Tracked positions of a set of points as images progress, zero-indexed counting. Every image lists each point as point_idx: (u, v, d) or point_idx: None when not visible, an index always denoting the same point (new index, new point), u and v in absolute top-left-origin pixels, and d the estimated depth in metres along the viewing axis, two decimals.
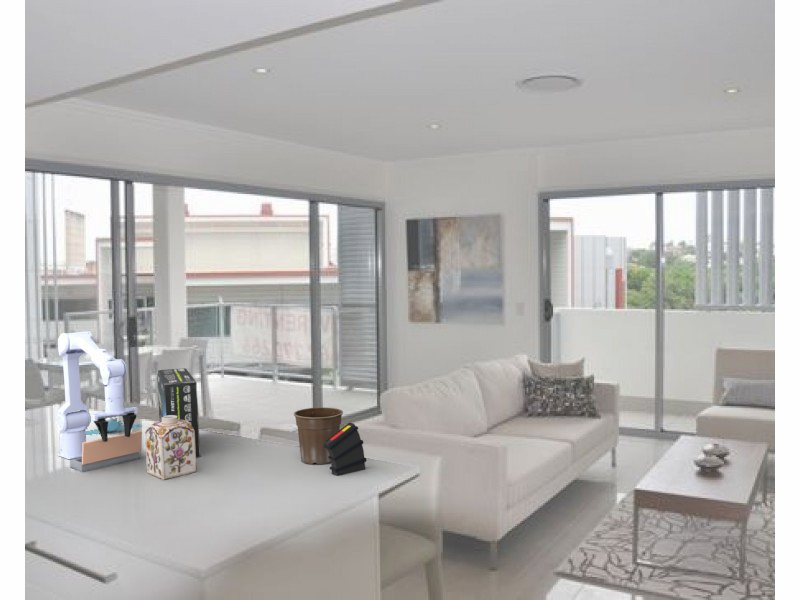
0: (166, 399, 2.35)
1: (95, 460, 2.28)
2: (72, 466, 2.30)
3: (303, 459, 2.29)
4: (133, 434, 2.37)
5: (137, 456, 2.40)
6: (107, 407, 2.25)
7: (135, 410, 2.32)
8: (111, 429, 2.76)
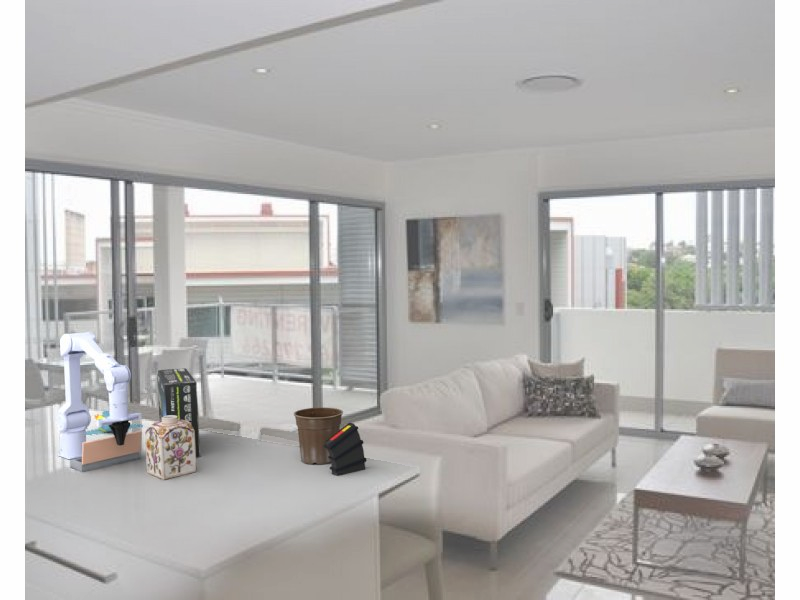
0: (166, 399, 2.35)
1: (95, 460, 2.28)
2: (72, 466, 2.30)
3: (303, 459, 2.29)
4: (133, 434, 2.37)
5: (137, 456, 2.40)
6: (111, 413, 2.26)
7: (139, 416, 2.33)
8: None
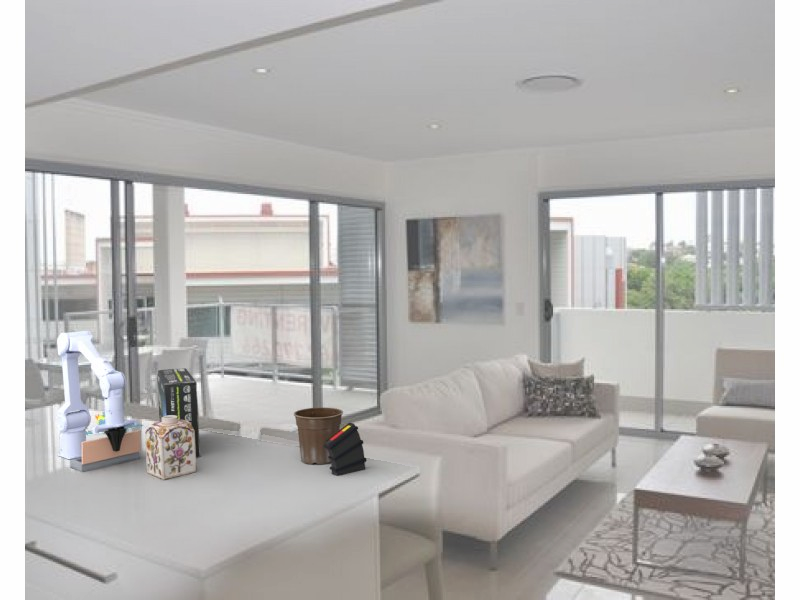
0: (166, 399, 2.35)
1: (95, 460, 2.28)
2: (72, 466, 2.30)
3: (303, 459, 2.29)
4: (132, 433, 2.37)
5: (137, 456, 2.40)
6: (107, 419, 2.28)
7: (135, 422, 2.35)
8: None
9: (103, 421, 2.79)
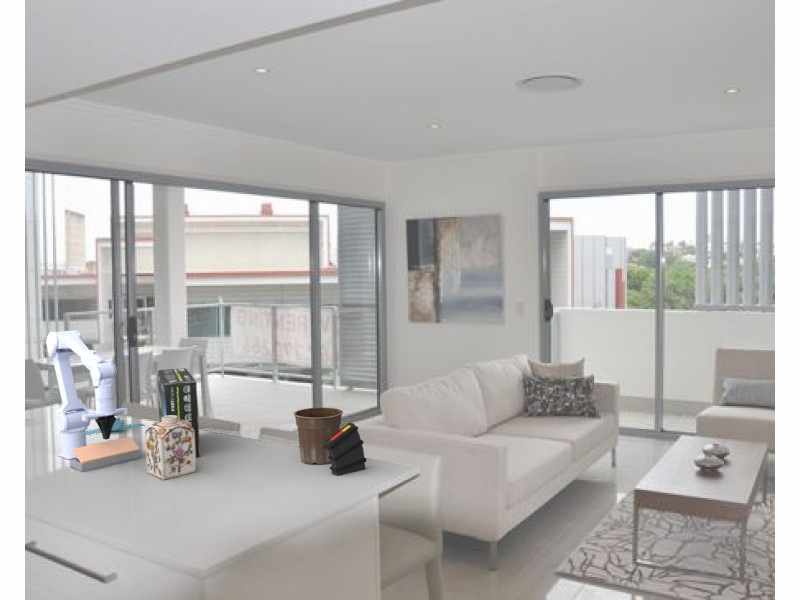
0: (166, 399, 2.35)
1: (94, 458, 2.29)
2: (72, 466, 2.30)
3: (303, 459, 2.29)
4: (122, 439, 2.42)
5: (137, 456, 2.40)
6: (97, 408, 2.32)
7: (125, 411, 2.38)
8: (114, 428, 2.77)
9: None
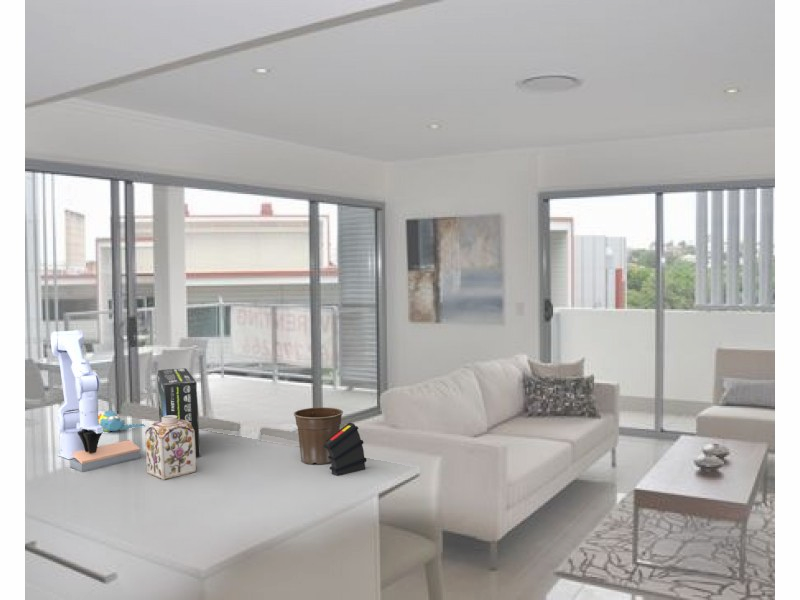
0: (166, 399, 2.35)
1: (93, 458, 2.29)
2: (72, 466, 2.30)
3: (303, 459, 2.29)
4: (121, 442, 2.42)
5: (137, 456, 2.40)
6: None
7: (95, 430, 2.27)
8: (114, 428, 2.77)
9: (105, 420, 2.79)
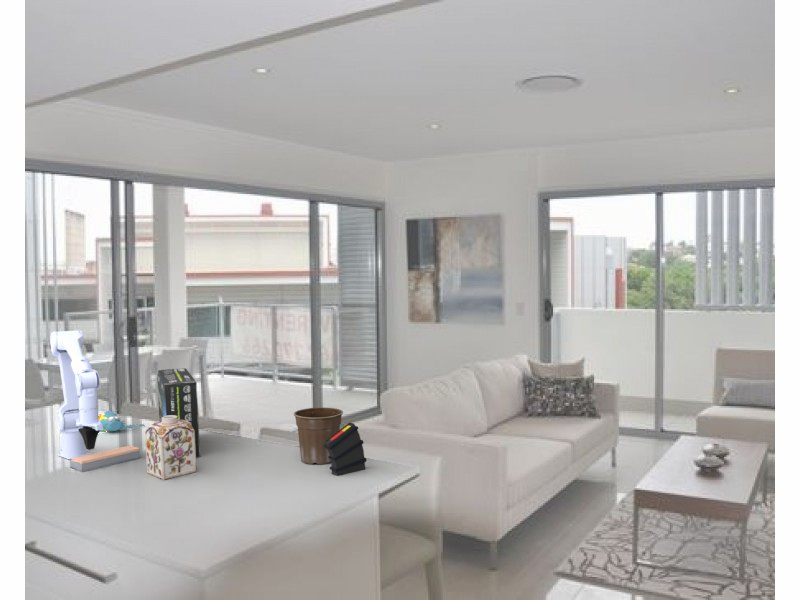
0: (166, 399, 2.35)
1: (93, 458, 2.29)
2: (72, 466, 2.30)
3: (303, 459, 2.29)
4: (120, 447, 2.43)
5: (137, 456, 2.40)
6: None
7: (95, 427, 2.27)
8: (114, 429, 2.77)
9: (104, 421, 2.79)
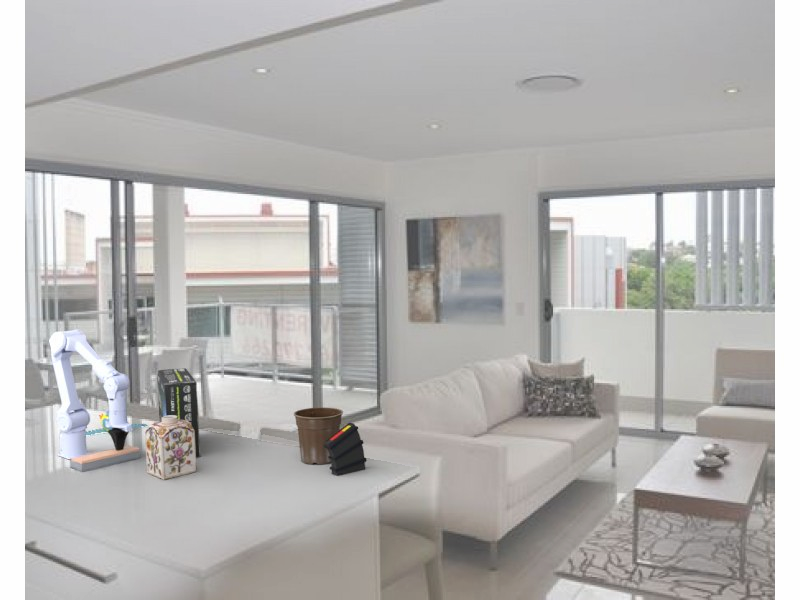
0: (166, 399, 2.35)
1: (93, 458, 2.29)
2: (72, 466, 2.30)
3: (303, 459, 2.29)
4: None
5: (137, 456, 2.40)
6: None
7: (125, 428, 2.34)
8: None
9: (106, 420, 2.79)
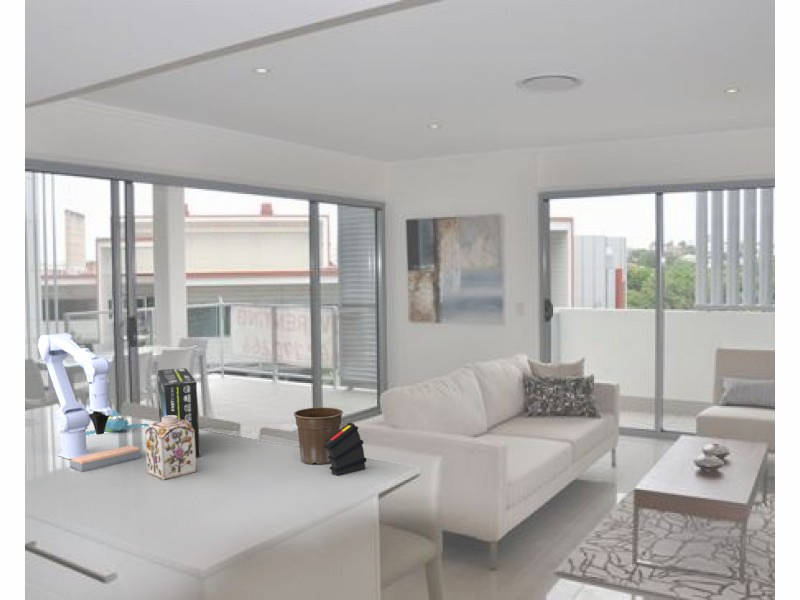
0: (166, 399, 2.35)
1: (93, 458, 2.29)
2: (72, 466, 2.30)
3: (303, 459, 2.29)
4: (120, 447, 2.43)
5: (137, 456, 2.40)
6: None
7: (105, 412, 2.32)
8: (118, 428, 2.78)
9: (108, 420, 2.79)
